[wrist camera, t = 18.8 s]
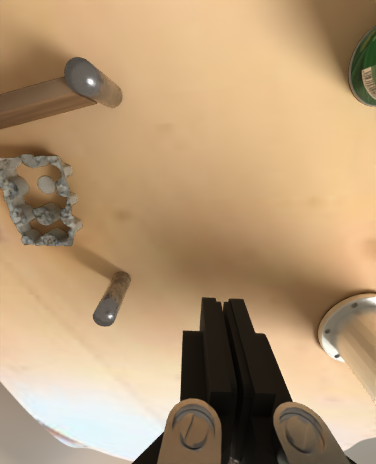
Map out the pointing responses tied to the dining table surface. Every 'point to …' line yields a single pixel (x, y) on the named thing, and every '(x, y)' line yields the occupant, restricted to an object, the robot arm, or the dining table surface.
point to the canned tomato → (364, 69)
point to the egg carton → (15, 187)
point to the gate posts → (108, 93)
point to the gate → (39, 102)
